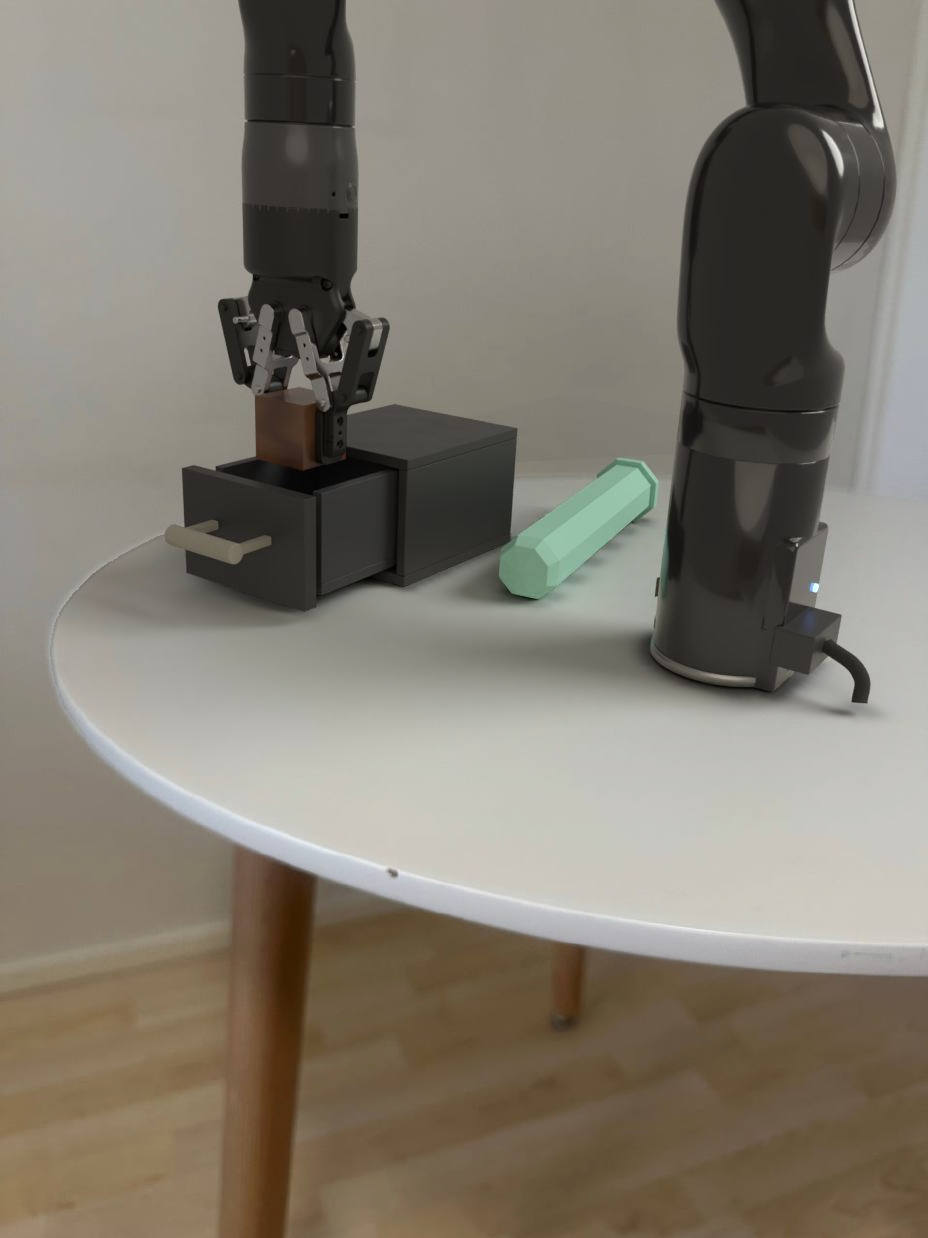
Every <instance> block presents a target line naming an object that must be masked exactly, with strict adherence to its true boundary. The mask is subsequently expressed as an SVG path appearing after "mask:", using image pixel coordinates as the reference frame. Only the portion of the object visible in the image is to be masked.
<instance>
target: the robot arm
mask: <svg viewBox="0 0 928 1238" xmlns="http://www.w3.org/2000/svg"><path fill="white" fill-rule="evenodd" d="M237 2H238V7H239V8H238V9H239V15H240V20H241V26H242V33H243V34H242V35H243V49H244V50H243V70H242V71H243V116H244V117H243V119H244V121H245V122H244V124H243V125H244V127H243V129H244V130H243V140H242V149H241V167H240V168H241V205H242V207H241V208H242V209H241V212H242V213H241V214H242V248H243V249H242V252H243V253H242V254H243V255H242V257H243V259H242V261H243V267H244V269H245V270H246V272H247V273H249V274H250V275H252V280H251V285H250V288H249V290H248V292H247V295H246V296H239V297H238V296H237V297H228V298H221V299H220V300H219V301H218V302H217V310H218V315H219V319H220V324H221V328H222V329H221V330H222V335H223V337H224V342H225V347H226V352H227V356H228V360H229V365H230V369H231V374H232V377H233V381H234V383H236V385H238V386H242V385H244V386H246V387H247V388H248V389H250V390H251V393H252V395H253V397H255V395H259V394H265V393H270V392H275V391H281V390H286V389H289V388H288V387H289V385H290V384H289V383H290V379H291V376H292V375H291V374H292V371H293V368H294V367H295V366H296V365H297V364H298V363H299V361H300V363H301V368H302V371H303V374H304V377H305V378H307V379H309V381H310V383H311V384H310V385H311V388H312V390H313V392H314V397H315V401H316V405H317V407H318V409H319V411H315V461H316V462H317V463H319V464H323V465H328V464H332V463H335V462H339V461H340V460H341V458H342V455H344V454H345V451H346V449H347V440H346V439H347V415H348V412H349V409H350V408H351V407H352V406H355V405H359V404H364V403H369V402H371V401H372V399H373V397H374V394H375V393H374V392H375V389H376V385H377V382H378V377H379V374H380V369H381V366H382V361H383V358H384V353H385V349H386V345H387V341H388V338H389V334H390V329H391V326H390V321H388V319H387V318H385V317H383V316H381V317H371V316H370V315H367V314H366V313H363V312H362V311H360V310H358V309H357V305H356V301H355V299H354V296H353V293H352V288H351V287H352V286H351V285H352V281H353V278H354V277H355V274H356V273H357V271H358V252H359V251H358V250H359V249H358V248H359V247H358V245H359V244H358V243H359V240H358V239H359V177H360V176H359V173H360V172H359V156H358V147H357V138H356V128H355V126H356V105H357V104H356V100H357V99H356V97H357V96H356V95H357V94H356V90H357V89H356V88H357V83H356V80H357V76H356V75H357V71H356V68H357V67H356V65H357V63H356V54H355V46H354V41H353V38H352V36H351V33H350V29H349V27H348V22H347V0H237ZM713 2H714V4H715V6H716V8H717V9H718V12H719V14H720V16H721V18H722V20H723V22H724V24H725V27H726V29H727V32H728V34H729V37H730V39H731V42H732V46H733V49H734V52H735V56H736V59H737V64H738V68H739V73H740V77H741V82H742V87H743V95H744V103H745V106H743V107H741V108H739V109H737V110H735V111H734V112H732V113H731V114H729V115H728V116H727V117H725V118H724V119H723V120H722V121H721V122H719V123H718V124H717V125H716V127H715V128H714V129H713V130H712V131H711V132H710V134H709V135H708V136H707V138H706V140H705V141H704V143H703V144H702V146H701V148H700V151H699V152H698V155H697V157H696V160H695V162H694V165H693V168H692V172H691V175H690V178H689V181H688V187H687V193H686V197H685V204H684V211H683V212H684V213H683V221H682V232H681V246H680V259H679V260H680V261H679V276H678V289H677V306H676V336H677V341H678V346H679V349H680V352H681V357H682V360H683V380H682V392H681V400H680V409H679V416H678V425H677V426H678V427H677V433H676V441H675V449H674V459H673V465H672V473H671V482H670V489H669V491H670V492H669V499H668V508H667V517H666V524H665V533H664V540H663V547H662V556H661V565H660V573H659V576H658V577H656V582H655V591H654V598H657V600H656V609H655V615H654V620H653V633H652V635H651V638H650V644H649V650H650V654H651V656H652V657H653V659H654V660H655V661H656V662H657V663H658V664H659V665H660V666H663V667H664V668H665V669H667V670H668V671H671V672H672V673H675V674H677V675H680V676H682V677H685V678H687V679H691V680H694V681H697V682H698V681H699V682H701V683H706V684H711V685H716V686H722V687H731V688H732V687H734V688H756V689H760V690H764V691H766V692H774V691H776V690H777V689H778V688H779V687H780V686H781V685H782V684H783V683H785V682H786V681H787V680H788V679H789V678H791V677H792V676H794V674H795V672H796V673H799V674H803V675H806V676H809V675H810V674H811V673H812V672H814V671H815V670H816V669H817V668H818V667H819V666H820V665H821V664H822V663H823V662H824V661H825V660H826V659H827V658H828V657H829V658H831V659H832V660H833V661H835V662H837V663H838V664H840V665H841V666H842V667H843V668H845V669H846V670H847V671H848V673H849V674H850V676H851V677H852V679H853V690H852V695H851V703H852V704H853V703H854V704H868V703H869V698H870V697H869V696H870V693H871V687H872V685H871V677H870V674H869V672H868V670H867V668H866V666H865V665H864V664H863V662H862V660H860V659H859V658H858V657H857V656H856V655H855V654H853V653H852V652H850V651H849V650H847V649H845V648H844V647H842V646H841V645H840V644H838V639H839V633H840V627H841V622H842V618H843V617H842V616H843V615H842V614H841V613H837V612H834V611H829V610H825V609H821V608H818V607H816V604H817V598H818V592H819V588H820V587H819V586H820V580H821V575H822V568H823V563H824V557H825V551H826V546H827V541H828V534H829V525H828V524H827V523H826V522H824V521H821V514H822V508H823V503H824V497H825V491H826V485H827V479H828V475H829V469H830V468H829V467H830V463H831V454H832V452H833V451H832V450H833V445H834V440H835V434H836V427H837V421H838V416H839V409H840V404H841V400H842V399H841V398H842V392H843V387H844V381H845V375H846V374H845V373H846V361H845V359H844V357H843V355H842V354H841V353H840V351H839V350H837V349H836V348H835V347H834V345H832V344H831V341H830V339H829V337H828V332H827V329H826V313H827V303H828V295H829V293H828V292H829V286H830V285H829V284H830V277H831V276H830V275H833V274H837V273H840V272H843V271H845V270H849V269H850V268H852V267H854V266H856V265H857V264H859V263H860V262H862V261H863V260H864V259H866V258H867V257H868V256H869V255H870V254H871V253H872V251H873V250H874V249H875V248H876V247H877V246H878V244H879V242H880V241H881V239H882V238H883V236H884V234H885V232H886V230H887V229H888V226H889V224H890V221H891V218H892V215H893V212H894V208H895V204H896V197H897V187H898V186H897V185H898V176H897V166H896V160H895V153H894V149H893V144H892V140H891V136H890V133H889V129H888V125H887V122H886V118H885V113H884V111H883V106H882V103H881V100H880V97H879V93H878V89H877V85H876V81H875V78H874V74H873V70H872V67H871V63H870V59H869V55H868V52H867V47H866V44H865V40H864V36H863V32H862V28H861V24H860V19H859V15H858V11H857V6H856V1H855V0H713ZM245 349H246V351H247V354H248V359H249V363H250V365H248V362H247V356H246V352H245ZM328 358H329V361H328V362H323V361H322V359H328ZM330 383H331V384H330ZM331 387H332V388H331Z"/></svg>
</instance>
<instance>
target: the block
mask: <svg viewBox="0 0 928 1238" xmlns="http://www.w3.org/2000/svg"><path fill="white" fill-rule="evenodd" d="M315 411H319V409H318V407H317V405H316V401H315V397H314V392H313V389H311V388H306V387H302V386H297V387H291V388H287V389H286V390H281V391H275V392H270V393H265V394H259V395H255V396H254V429H255V430H254V431H255V432H254V434H255V436H254V437H255V438H254V439H255V456H256V459H259V460H263V461H267V462H271V463H275V464H279V465H283V466H287V467H291V468H294V469H298V470H302V471H304V470H308V469H311V468H315V467H319V466H322V465H323V464H319V463H317V462H316V461H315ZM344 459H346V451H345V454H344V455H342V458H341V460H344ZM341 460H340V461H341Z"/></svg>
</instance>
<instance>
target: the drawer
mask: <svg viewBox="0 0 928 1238" xmlns="http://www.w3.org/2000/svg"><path fill="white" fill-rule="evenodd" d="M214 467H215V468H214V469H215V470H214V469H211V468H207V467H203V466H199V465H195V464H194V465H189V466H184V467H181V480H182V482H181V483H182V503H183V522H184V523H183V524H184V525H183V526H181V525H179V524H175V523H174V524H170V525H169V526H167V528H166V529H165V531H164V541H165V543H166V544H168V545H170V546H173V547H177V548H179V549H182V550H185V570H186V571H185V572H186V574H188V575H191V576H194V577H198V578H201V579H203V580H207V581H210V582H213V583H215V584H219V585H222V586H224V587H228V588H231V589H234V590H237V591H239V592H243V593H246V594H249V595H252V596H255V597H258V598H261V599H264V600H267V601H270V602H273V603H277V604H279V605H282V606H286V607H288V608H291V609H294V610H297V611H300V612H303V613H305V612H308V611H311V610H313V609H315V608H316V607H317V595H319V596H323V595H325V594H326V595H327V594H328V593H331V592H334V591H336V590H338V589H341V588H344V587H345V586H348V585H350V584H354V583H355V582H358V581H360V580H363V579H365V578H368V577H370V576H371V575H373V574H375V573H378V572H380V571H383V570H385V569H388V568H390V567H393V566H395V565H397V533H398V497H399V470H400V469H398V468H393V467H389V466H385V465H380V464H376V463H372V462H367V461H363V460H359V459H355V458H350V457H346V459H344V460H341V461H339V462H335V463H332V464H328V465H322V466H319V467H315V468H311V469H308V470H304V471H302V470H298V469H294V468H291V467H287V466H283V465H279V464H275V463H271V462H267V461H263V460H259V459H256V455H255V456H250V457H247V458H243V459H239V460H238V459H237V460H235V461H231V462H227V463H222V464H219V465H215V466H214Z"/></svg>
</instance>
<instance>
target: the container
mask: <svg viewBox="0 0 928 1238" xmlns="http://www.w3.org/2000/svg"><path fill="white" fill-rule="evenodd" d="M659 486H660V481H659V479H658V478H657V476H655V474H654V473H653V471H652V470H651V469H650V468H649V466H648V465H647V464H646V462H645V461H644V460H639V459H632V458H625V457H621V456H620V457H617V458H616V459H615V460H613V461H612V462H610V464H608V465H607V466H606V467H604V468H603V469H602V470H601V471H599V472H598V473H597V474H596V479H595V480H593V481H592V482H590V483H589V484H588V485H586V486H584V487H583V488H582V489H581V490H579V491H578V492H576V493H575V494H574V495H572V496H571V497H569V498H567V500H565V501H564V502H562V503H561V504H560V505H558V506H557V507H555V508H554V509H552V510H551V511H550V512H549V513H547V514H545V515H544V516H542V517H541V518H540V519H538V520H537V521H536V522H534V523H533V524H531V525H530V526H529V527H527V528H526V529H524V530H523V531H521V532H520V533H519V534H517V535H516V536H515V537H514V538H512V539H510V541H509V542H507V543H505V544H504V546H502V547H501V548H500V549H499V550H500V551H499V566H498V569H499V570H498V578H499V579H500V580H501V582H502V583H503V585H505V587H506V588H507V590H508V591H509V592H510V593H511V594H512V595H516V596H521V597H526V598H532V599H536V600H540V599H542V598H543V597H544V596H546V595H547V594H548V593H550V592H551V591H552V590H554V589H555V588H556V587H558V586H559V585H561V583H562V582H564V581H565V580H566V579H567V578H568V577H569V576H570V575H571V574H573V573H574V572H575V571H576V570H577V569H578V568H580V567H581V566H582V565H583V564H584V563H585V562H586V561H587V560H589V559H590V558H591V557H592V556H594V554H595V553H597V552H598V551H600V549H602V547H604V546H605V545H606V544H607V543H608V542H610V541H611V539H613V538H614V537H615V536H616V535H617V534H618V533H620V532H621V531H622V530H623V529H624V528H625V527H627V526H628V525H629V524H630V523H636V522H637V521H639V520H640V519H642V517H644V516H646V515H647V514H648V513H649V512H651V511H652V510H653V509H655V508H656V507H657V505H658V503H657V502H658V494H659Z"/></svg>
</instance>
